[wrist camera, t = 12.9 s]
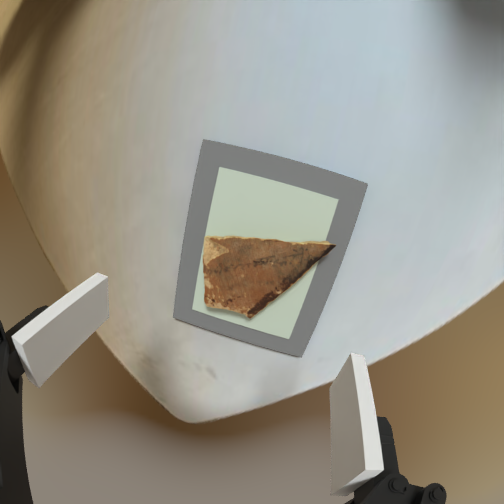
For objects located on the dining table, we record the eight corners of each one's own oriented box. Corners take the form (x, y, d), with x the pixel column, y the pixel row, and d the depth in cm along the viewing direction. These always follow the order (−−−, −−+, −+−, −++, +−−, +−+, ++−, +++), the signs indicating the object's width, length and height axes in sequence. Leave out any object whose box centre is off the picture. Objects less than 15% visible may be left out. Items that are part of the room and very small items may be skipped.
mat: (175, 313, 29) (172, 318, 28) (206, 139, 23) (202, 139, 22) (301, 352, 28) (301, 358, 27) (365, 183, 22) (368, 184, 21)
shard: (334, 239, 23) (337, 246, 21) (323, 318, 25) (323, 329, 24) (207, 229, 24) (200, 235, 23) (209, 306, 27) (203, 315, 25)
